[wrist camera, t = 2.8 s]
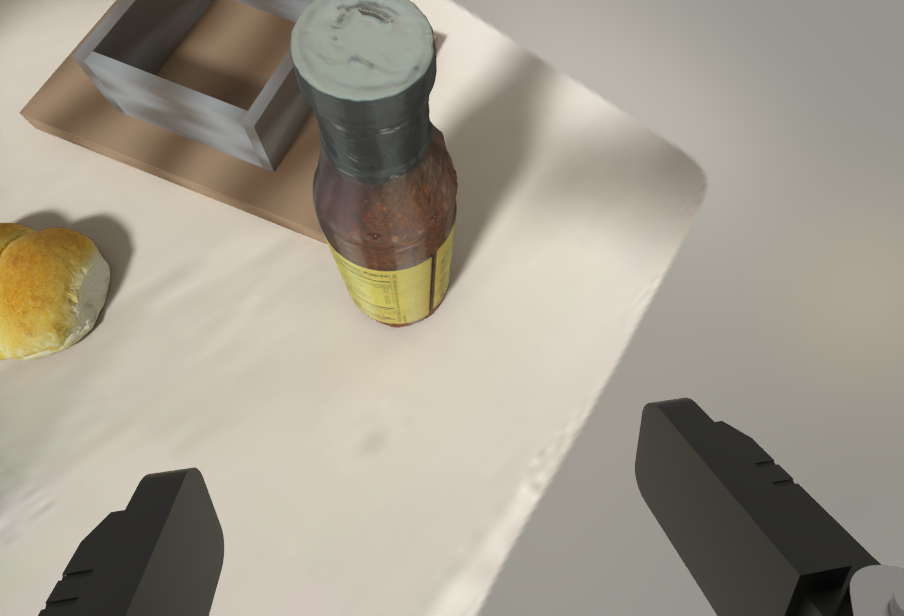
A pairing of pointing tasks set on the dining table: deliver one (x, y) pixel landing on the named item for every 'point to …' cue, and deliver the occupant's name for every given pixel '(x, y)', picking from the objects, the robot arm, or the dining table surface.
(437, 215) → the sauce bottle
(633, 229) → the dining table surface
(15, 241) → the bread roll
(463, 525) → the dining table surface
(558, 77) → the dining table surface
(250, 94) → the bottle stand
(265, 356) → the dining table surface
